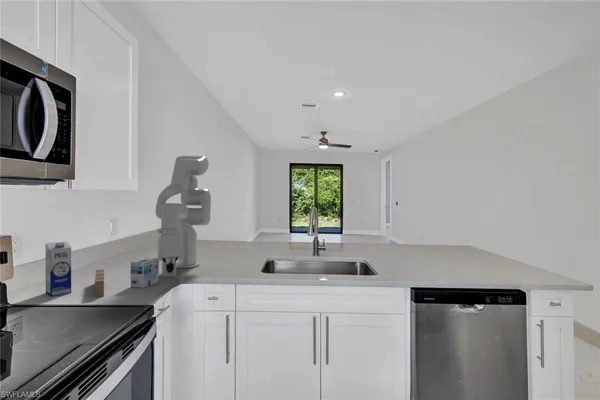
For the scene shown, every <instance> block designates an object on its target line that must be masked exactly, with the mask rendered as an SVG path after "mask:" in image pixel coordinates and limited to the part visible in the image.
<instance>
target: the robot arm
mask: <svg viewBox="0 0 600 400" xmlns="http://www.w3.org/2000/svg"><path fill="white" fill-rule="evenodd" d="M173 165H174V166H173V171H172V175H171V182H170V184H169V185H167V186H166V187H165V188H164V189H163V190H162V191H161V192H160V193H159V194H158V197H157V201H156V204H155V205H156V206H155V216H156V217H157V218H158V219H160V221H161V223H160V224H161V225H160V228H159V229H157V233H159V236H158V237H159V238H158V241H157V242H158V243H157V260H159V261H161V262H162V261H164V262H165V263H166V271H168V273H170V272H171V273H172V270H174V263H175V262H176V261H177V264H176V268H179V269H187V268H188V269H189V268H190V269H191V268H196V267H199V266H200V264H201V263H200V262H199V261H197V258H198V257H197V255H198V254H197V253H198V251H197V250H198V249H197V245H198V243H197V241H198V240H197V239H198V237H197V236H198V235H197V231H196V229H195V227H193V226H207V225H209V224H210V220H211V211H212V210H211V207H212V205H211V204H212V198H211V197H212V196H211V195H212V194H211V191H210V190H209V189H207V188H198V183H199V182H198V178H197V177H199V176H203V175H204V174H205V173H206V172H207V171H208V170H209V159H208V157H207V156H205V155H180V156H177V157H176V158H175V162H174V164H173ZM179 194H180V203H177V202H175V203H173V202H167V201H168V200H169V199H170V198H172V197H175V196H176V195H179ZM189 206H190V207H189ZM191 206H194V207H191ZM169 258H171V262H169Z"/></svg>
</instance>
